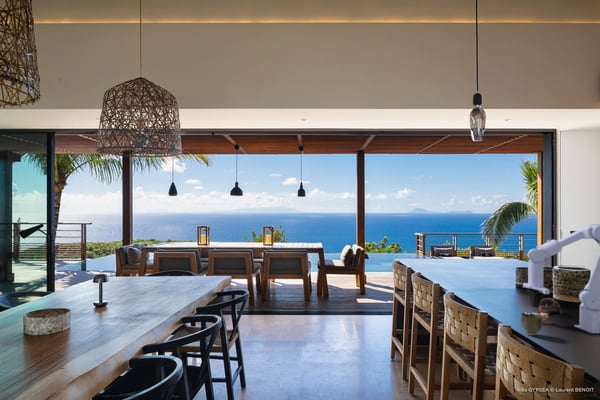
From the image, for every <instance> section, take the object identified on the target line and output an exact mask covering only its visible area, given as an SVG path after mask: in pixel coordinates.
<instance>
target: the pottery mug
mask: <svg viewBox="0 0 600 400" xmlns="http://www.w3.org/2000/svg"><path fill="white" fill-rule="evenodd" d="M538 312H539V314H540V313H549V312H552V313H559V314H560V315H563V310H562V309H561V306H560V303H559V302H558V301H556V300H555V299H554V298H550V297H546V298H542V299H541V302H540V305H539V307H538Z"/></svg>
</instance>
